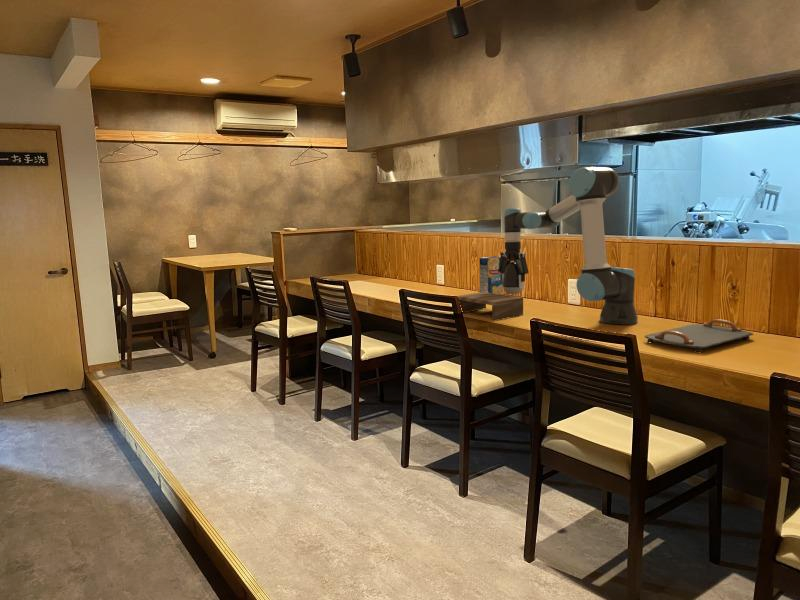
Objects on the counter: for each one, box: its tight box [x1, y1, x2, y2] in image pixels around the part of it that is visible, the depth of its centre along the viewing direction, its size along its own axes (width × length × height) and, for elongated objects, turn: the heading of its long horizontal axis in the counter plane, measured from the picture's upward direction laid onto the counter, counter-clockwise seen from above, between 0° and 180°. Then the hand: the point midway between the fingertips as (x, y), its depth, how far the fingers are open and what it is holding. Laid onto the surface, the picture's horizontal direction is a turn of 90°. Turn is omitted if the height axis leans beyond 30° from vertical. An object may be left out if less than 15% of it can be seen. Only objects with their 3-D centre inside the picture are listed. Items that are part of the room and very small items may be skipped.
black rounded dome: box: [502, 261, 524, 295], centre depth 289 cm, size 10×10×15 cm
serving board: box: [644, 318, 754, 353], centre depth 218 cm, size 39×23×6 cm, turn 124°
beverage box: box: [479, 256, 504, 295], centre depth 324 cm, size 7×11×22 cm, turn 124°
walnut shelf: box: [456, 291, 524, 321], centre depth 280 cm, size 26×18×8 cm
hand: (513, 287), depth 290 cm, fingers closed on black rounded dome, 10 cm apart
